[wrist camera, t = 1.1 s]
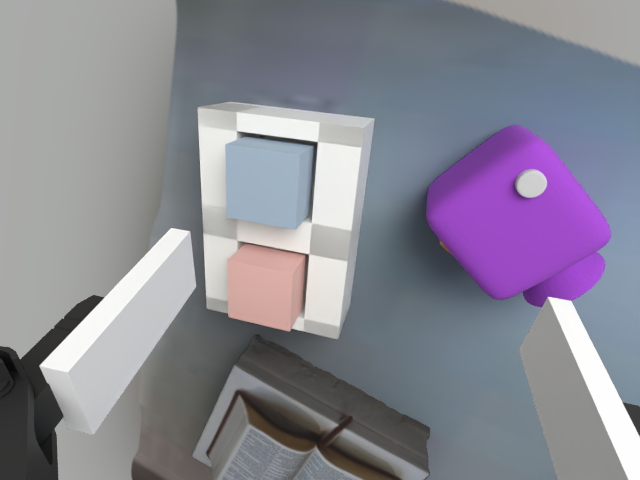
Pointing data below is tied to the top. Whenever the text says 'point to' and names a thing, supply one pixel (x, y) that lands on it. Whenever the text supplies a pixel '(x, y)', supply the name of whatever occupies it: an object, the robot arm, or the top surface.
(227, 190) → the key slate
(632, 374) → the top surface
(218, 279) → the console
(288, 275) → the key rose
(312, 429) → the bible
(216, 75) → the top surface
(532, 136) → the toy camera
